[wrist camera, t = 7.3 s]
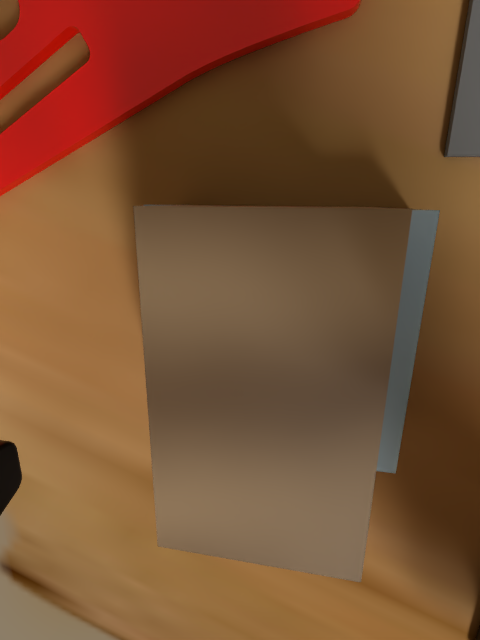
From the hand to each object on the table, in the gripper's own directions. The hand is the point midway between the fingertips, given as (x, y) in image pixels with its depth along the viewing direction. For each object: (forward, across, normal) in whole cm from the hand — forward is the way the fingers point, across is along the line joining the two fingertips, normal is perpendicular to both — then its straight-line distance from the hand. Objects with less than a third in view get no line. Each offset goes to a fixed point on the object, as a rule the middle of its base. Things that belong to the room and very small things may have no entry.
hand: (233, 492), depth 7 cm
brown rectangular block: (+8, 0, 0) cm, 8 cm away
